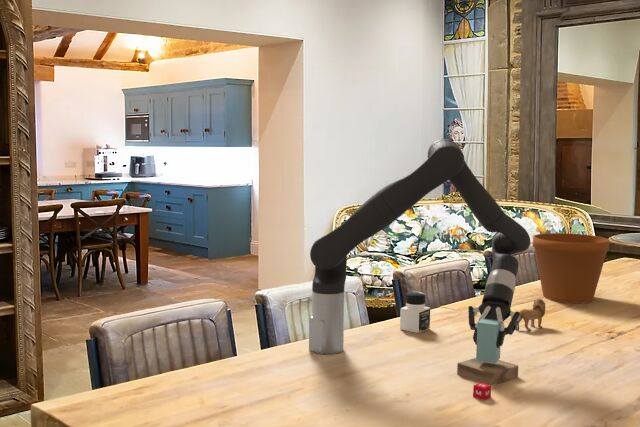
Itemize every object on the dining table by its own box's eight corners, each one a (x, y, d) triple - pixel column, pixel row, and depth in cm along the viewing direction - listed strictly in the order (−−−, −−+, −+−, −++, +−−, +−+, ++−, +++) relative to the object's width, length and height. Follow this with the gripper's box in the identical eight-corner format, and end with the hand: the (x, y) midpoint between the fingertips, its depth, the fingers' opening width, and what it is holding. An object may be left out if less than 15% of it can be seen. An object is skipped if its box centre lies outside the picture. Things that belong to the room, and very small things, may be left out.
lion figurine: (534, 323, 245) (535, 296, 244) (548, 326, 241) (549, 299, 240) (510, 330, 235) (511, 303, 234) (525, 333, 231) (526, 306, 230)
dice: (473, 397, 174) (473, 385, 174) (480, 394, 176) (480, 382, 176) (483, 400, 172) (484, 388, 172) (490, 397, 174) (491, 385, 174)
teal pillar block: (495, 363, 186) (496, 324, 185) (476, 360, 188) (477, 322, 187) (500, 358, 191) (501, 320, 190) (481, 355, 193) (482, 318, 192)
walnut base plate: (491, 385, 182) (492, 373, 182) (457, 374, 191) (457, 363, 190) (517, 376, 189) (518, 365, 189) (483, 366, 198) (483, 355, 197)
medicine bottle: (419, 333, 230) (420, 296, 229) (399, 329, 234) (400, 293, 233) (430, 329, 236) (431, 292, 234) (410, 325, 240) (411, 289, 239)
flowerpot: (516, 292, 294) (519, 234, 291) (575, 288, 302) (578, 232, 300) (559, 307, 267) (562, 244, 265) (622, 303, 276) (625, 242, 273)
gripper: (528, 300, 196) (516, 356, 187) (475, 294, 203) (462, 348, 193) (525, 284, 191) (513, 341, 181) (471, 279, 197) (456, 333, 188)
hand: (486, 344), depth 187 cm, fingers closed on teal pillar block, 5 cm apart
